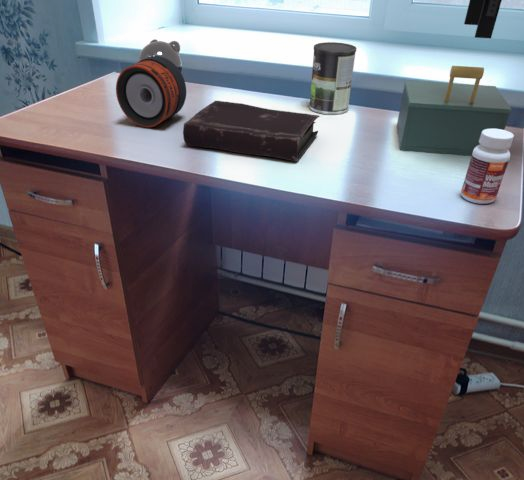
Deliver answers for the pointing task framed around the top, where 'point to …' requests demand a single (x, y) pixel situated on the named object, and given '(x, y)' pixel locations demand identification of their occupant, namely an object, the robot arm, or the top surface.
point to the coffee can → (331, 77)
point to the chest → (444, 128)
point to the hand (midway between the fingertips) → (476, 31)
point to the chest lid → (457, 93)
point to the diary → (251, 130)
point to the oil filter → (151, 91)
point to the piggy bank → (163, 51)
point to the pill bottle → (487, 166)
